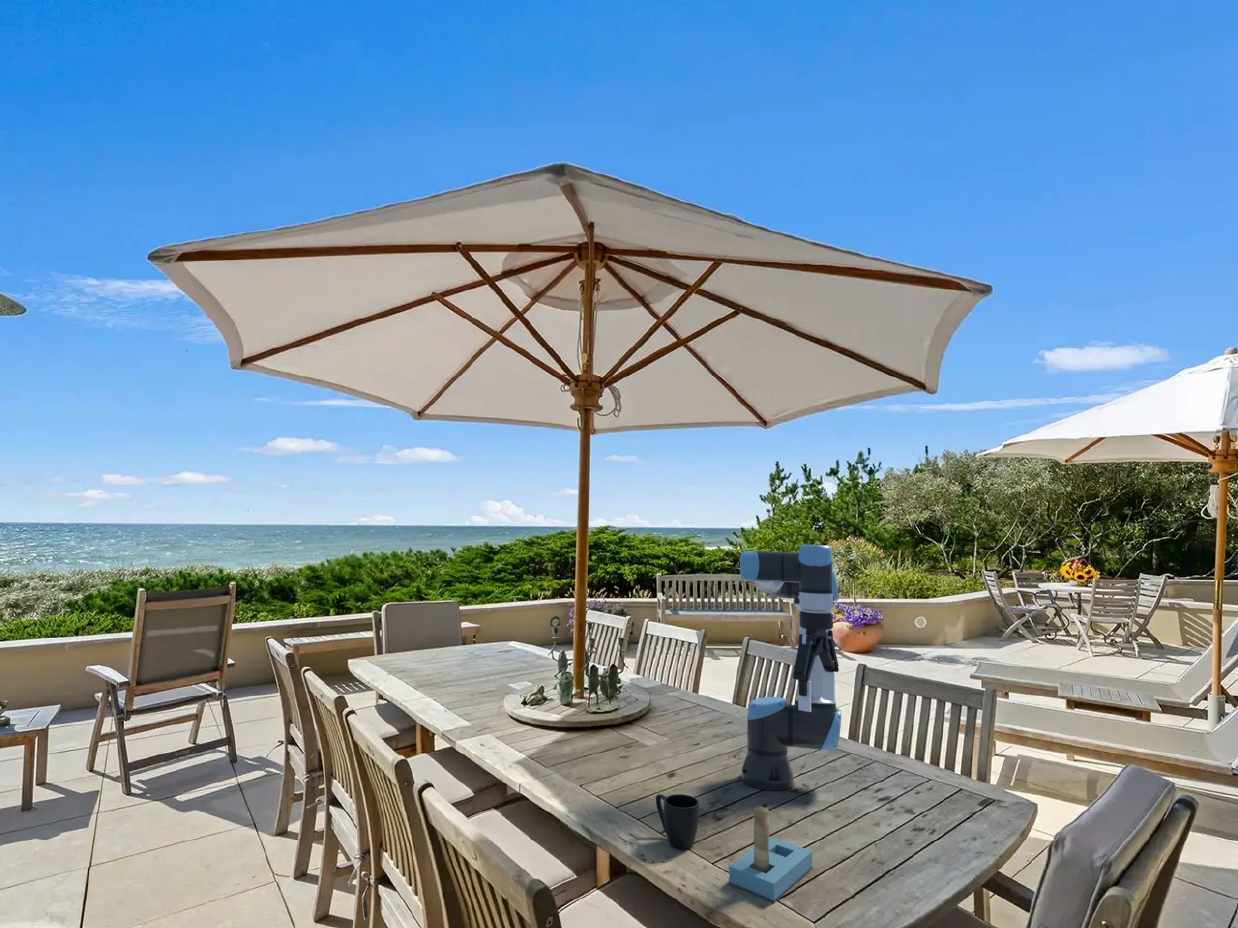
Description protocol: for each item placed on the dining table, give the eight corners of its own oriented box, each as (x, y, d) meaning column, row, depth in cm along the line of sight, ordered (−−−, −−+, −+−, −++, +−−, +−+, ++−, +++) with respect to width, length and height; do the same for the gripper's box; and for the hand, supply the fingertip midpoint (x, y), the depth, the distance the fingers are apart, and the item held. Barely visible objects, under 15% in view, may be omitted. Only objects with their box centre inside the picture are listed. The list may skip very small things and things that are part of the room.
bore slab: (769, 852, 144) (769, 836, 144) (812, 868, 137) (812, 850, 138) (729, 884, 130) (729, 865, 131) (774, 902, 124) (774, 883, 124)
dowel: (758, 876, 133) (758, 805, 134) (771, 881, 131) (771, 809, 132) (751, 882, 130) (751, 809, 132) (764, 887, 128) (764, 814, 130)
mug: (670, 827, 156) (670, 786, 157) (706, 846, 146) (706, 802, 148) (645, 836, 150) (645, 793, 152) (681, 856, 141) (681, 811, 142)
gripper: (821, 606, 161) (823, 693, 158) (776, 613, 142) (777, 712, 140) (851, 608, 156) (853, 698, 154) (809, 616, 137) (810, 718, 135)
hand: (817, 705), depth 147 cm, fingers open, 13 cm apart
